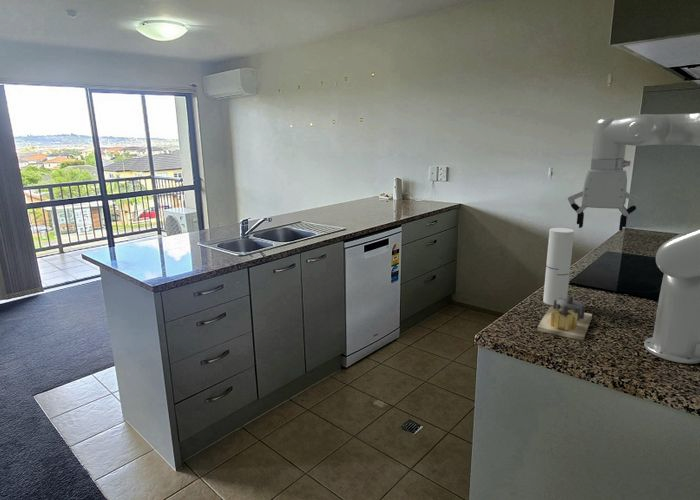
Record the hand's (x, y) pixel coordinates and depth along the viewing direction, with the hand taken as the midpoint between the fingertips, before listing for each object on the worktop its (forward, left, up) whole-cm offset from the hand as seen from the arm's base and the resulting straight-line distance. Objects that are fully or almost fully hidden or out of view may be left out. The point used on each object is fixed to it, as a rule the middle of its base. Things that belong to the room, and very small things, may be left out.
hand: (600, 228), depth 118 cm
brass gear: (+6, +6, -28) cm, 30 cm away
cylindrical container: (+12, -16, -30) cm, 36 cm away
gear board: (+6, +1, -30) cm, 30 cm away
